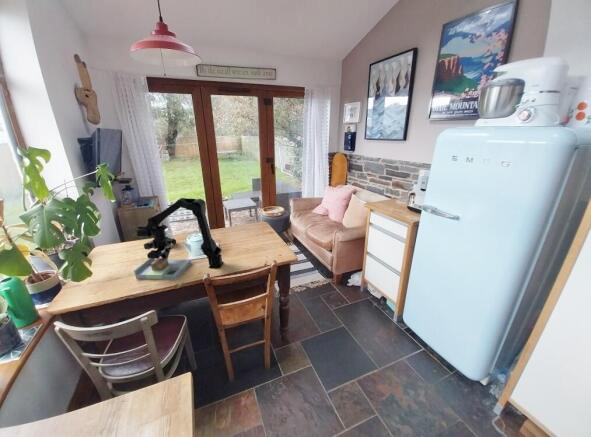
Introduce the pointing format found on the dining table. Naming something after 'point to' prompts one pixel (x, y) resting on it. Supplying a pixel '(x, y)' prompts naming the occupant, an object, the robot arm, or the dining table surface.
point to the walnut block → (159, 264)
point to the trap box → (169, 272)
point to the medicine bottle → (168, 236)
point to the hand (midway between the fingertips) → (165, 261)
